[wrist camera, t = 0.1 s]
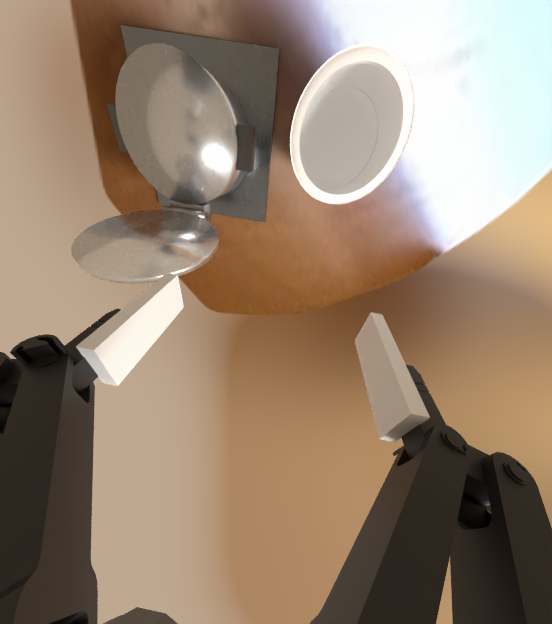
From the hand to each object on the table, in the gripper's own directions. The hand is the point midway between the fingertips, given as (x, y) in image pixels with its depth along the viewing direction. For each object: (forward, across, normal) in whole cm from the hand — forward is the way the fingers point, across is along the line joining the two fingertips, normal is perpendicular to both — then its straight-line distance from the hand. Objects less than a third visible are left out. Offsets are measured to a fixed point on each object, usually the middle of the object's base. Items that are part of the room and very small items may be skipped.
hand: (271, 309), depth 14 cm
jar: (+28, +4, +10) cm, 30 cm away
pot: (+28, -15, +8) cm, 33 cm away
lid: (+11, -15, -1) cm, 19 cm away
